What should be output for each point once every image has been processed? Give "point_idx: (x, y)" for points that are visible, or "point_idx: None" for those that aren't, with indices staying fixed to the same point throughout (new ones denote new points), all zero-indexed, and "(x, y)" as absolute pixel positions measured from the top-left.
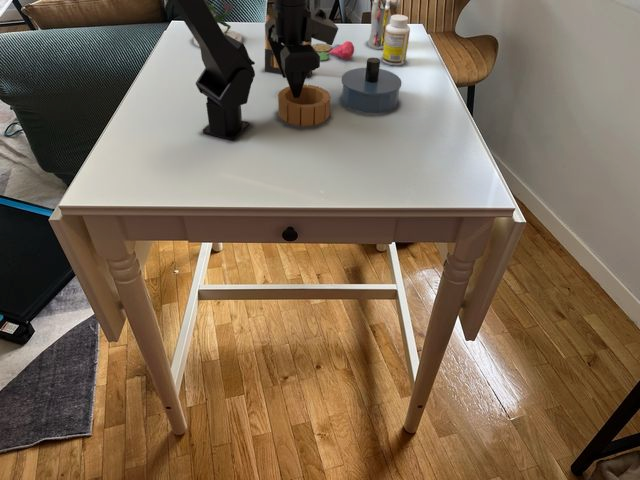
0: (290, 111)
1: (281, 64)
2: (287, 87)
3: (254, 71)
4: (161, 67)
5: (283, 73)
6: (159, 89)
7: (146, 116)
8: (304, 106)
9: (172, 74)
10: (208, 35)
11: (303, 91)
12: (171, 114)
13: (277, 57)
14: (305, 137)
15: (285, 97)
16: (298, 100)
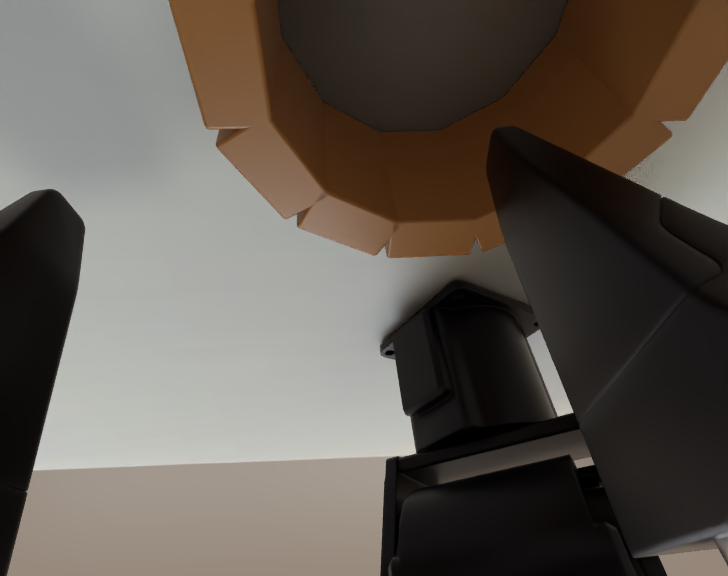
0: None
1: (654, 554)
2: (279, 200)
3: (621, 561)
4: None
5: (70, 252)
6: (189, 443)
7: (343, 437)
8: (684, 91)
9: (72, 441)
10: None
11: (266, 28)
12: (337, 415)
13: (25, 423)
14: None
15: (457, 220)
16: (278, 46)
